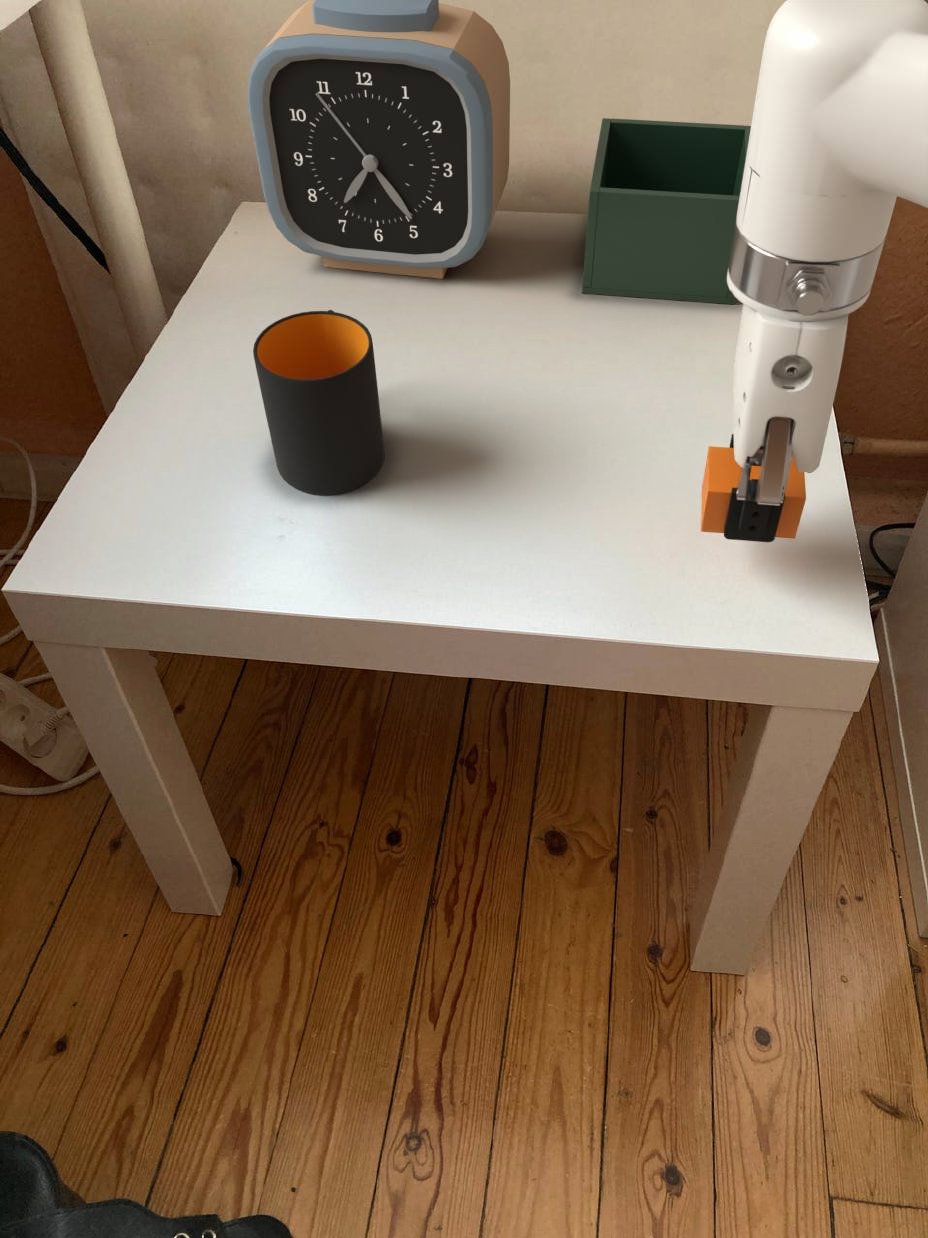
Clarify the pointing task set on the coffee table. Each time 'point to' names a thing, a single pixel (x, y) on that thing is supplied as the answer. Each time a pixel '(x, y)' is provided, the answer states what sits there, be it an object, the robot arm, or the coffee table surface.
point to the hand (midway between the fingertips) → (748, 508)
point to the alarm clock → (383, 132)
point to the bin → (664, 209)
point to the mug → (321, 400)
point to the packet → (725, 477)
